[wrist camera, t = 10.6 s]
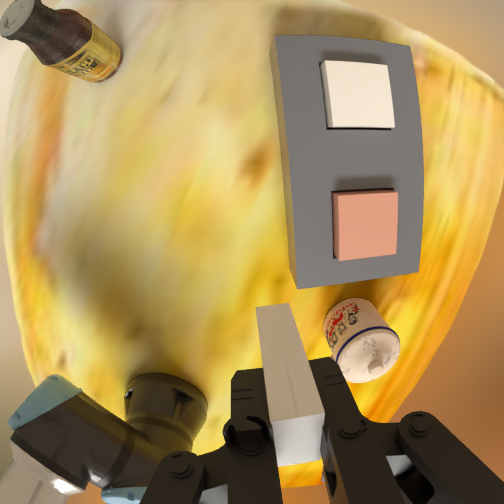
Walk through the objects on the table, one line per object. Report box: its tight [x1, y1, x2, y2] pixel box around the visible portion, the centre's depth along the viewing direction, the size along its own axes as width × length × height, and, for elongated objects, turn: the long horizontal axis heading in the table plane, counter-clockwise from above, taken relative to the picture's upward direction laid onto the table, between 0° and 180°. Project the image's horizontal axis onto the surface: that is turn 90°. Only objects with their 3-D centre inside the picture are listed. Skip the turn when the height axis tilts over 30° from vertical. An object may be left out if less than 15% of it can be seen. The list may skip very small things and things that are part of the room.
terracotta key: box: [331, 188, 398, 261], centre depth 32 cm, size 7×7×4 cm
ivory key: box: [319, 61, 395, 129], centre depth 27 cm, size 7×7×4 cm
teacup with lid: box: [324, 298, 400, 383], centre depth 37 cm, size 12×9×12 cm
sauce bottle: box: [0, 0, 122, 82], centre depth 20 cm, size 6×6×20 cm
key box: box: [270, 35, 424, 289], centre depth 32 cm, size 16×28×6 cm, turn 6°
